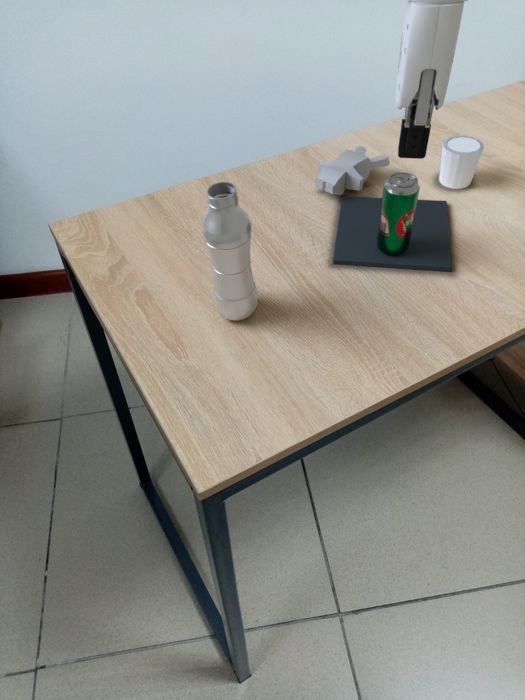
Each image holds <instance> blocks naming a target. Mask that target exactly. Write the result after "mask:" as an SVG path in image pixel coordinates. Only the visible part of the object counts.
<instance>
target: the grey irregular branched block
mask: <svg viewBox="0 0 525 700" xmlns="http://www.w3.org/2000/svg"><path fill="white" fill-rule="evenodd" d="M366 153H367V148H366V147H365V146H361V145H358V146H356V147H355V149H354V150H350V149H346V150H344V151H342V152H341V153H340V154H339V155H338V156H337V158H336V159H334V160H323V161H322V160H321V161H320V162H319V163H318V176H317V178H315V188H317V189H319V190H321V191H323V190H324V191H325V192H326V193H329V194H330V195H335V196H343V194H345V193H344V192H345V190H353V191H362V190H363V185H364V183H365V182H366V181H367V180H368V178H369V176H370V173H371V171H372V169H375V168H383V167H388V166H390V163H391V162H390V158H389V155H385V154H381V155H378V156H374V157H371V158H369V157H368V156H367V155H365V154H366Z"/></svg>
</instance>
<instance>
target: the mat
mask: <svg viewBox="0 0 525 700" xmlns="http://www.w3.org/2000/svg"><path fill="white" fill-rule="evenodd" d="M447 203H448V202H447V200H433V199H418V200H417V206H416V211H415V217H414V222H413V228H412V233H411V239H410V244H409V248H408V250H407V251H406V252H404V253H403V254H400V255H397V256H391V255H386V254H384V253H382V252H381V251H380V250H379V249H378V247H377V236H378V228H379V220H380V212H381V204H382V197H368V196H350V195H348V196H346V195H341V201H340V209H339V216H338V223H337V229H336V230H337V231H336V237H335V245H334V252H333V259H332V264H333V265H345V266H346V265H347V266H362V267H376V268H388V269H389V268H391V269H392V268H393V269H405V270H407V269H408V270H422V271H434V272H435V271H437V272H451V273H452V269H453V264H452V263H453V262H452V252H451V238H450V228H449V226H450V225H449V217H448V215H449V214H448V204H447Z"/></svg>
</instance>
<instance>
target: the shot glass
mask: <svg viewBox="0 0 525 700" xmlns="http://www.w3.org/2000/svg"><path fill="white" fill-rule="evenodd" d="M484 148H485V146H484V143H483V142H482V141H481V140H480V139H478V138H476V137H473V136H469V135H452V136H449V137H448V138H445V140H444V141H443V142H442V147H441V159H440V167H439V176H438V182H439V183H440V184H441V186H443V187H446V188H448V189H454V190H461V189H465V188H467V187H469V186H470V185H471V183H472V180H473V178H474V176H475V172H476V169H477V168H478V164H479V162H480V159H481V156H482V155H483V151H484Z"/></svg>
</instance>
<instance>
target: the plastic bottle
mask: <svg viewBox="0 0 525 700" xmlns="http://www.w3.org/2000/svg"><path fill="white" fill-rule="evenodd" d="M206 196H207V197H206V198H207V206H208V208H209V209H208V210H207V212H206V214H205V216H204V218H203V220H202V225H201V232H202V237H203V239H204V243H205V245H206V249H207V252H208V255H209V258H210V264H211V267H212V275H213V291H212V297H213V304H214V306H215V309H216V311H217V314H219V315H220V316H221V317H223V318H224V319H226V320H229V321H242V320H245V319H247V318H249V317H250V316H251V315H252V314H253V313H254V312H255V310H256V308H257V306H258V301H259V293H258V289H257V286H256V283H255V281H254V275H253V270H252V264H251V263H252V262H251V240H252V222H251V219H250V217H249V215H248V213H247V212H246V211H245V210H244V208H242V207H241V206H240V205H239V204H240V203H239V202H240V200H239V196H238V190H237V187H236V185H235V184H234V183H232V182H229V181H219V182H215V183H213V184H211V185H209V187H207V190H206Z"/></svg>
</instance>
